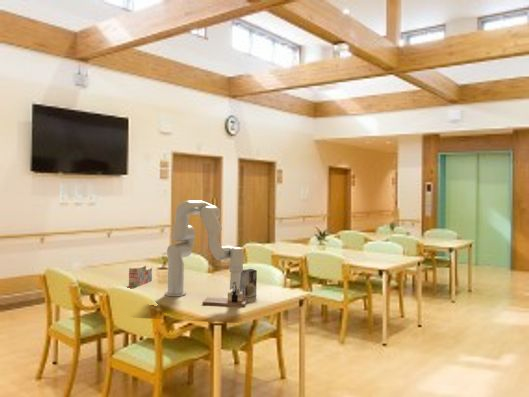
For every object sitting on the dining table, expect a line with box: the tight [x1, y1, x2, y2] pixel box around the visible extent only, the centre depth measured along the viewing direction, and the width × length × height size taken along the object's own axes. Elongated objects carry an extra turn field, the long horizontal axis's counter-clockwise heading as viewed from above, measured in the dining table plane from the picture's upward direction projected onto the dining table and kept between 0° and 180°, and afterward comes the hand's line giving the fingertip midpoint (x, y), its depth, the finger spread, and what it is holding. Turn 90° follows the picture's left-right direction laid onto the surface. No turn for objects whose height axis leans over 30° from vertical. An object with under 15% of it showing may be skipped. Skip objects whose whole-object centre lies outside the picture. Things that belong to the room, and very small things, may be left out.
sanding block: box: [227, 290, 244, 302], centre depth 267 cm, size 5×8×5 cm, turn 84°
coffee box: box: [239, 268, 258, 299], centre depth 288 cm, size 9×6×16 cm
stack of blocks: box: [128, 264, 153, 288], centre depth 317 cm, size 21×6×12 cm, turn 168°
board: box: [201, 296, 249, 308], centre depth 268 cm, size 12×24×2 cm, turn 84°
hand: (235, 300), depth 267 cm, fingers closed on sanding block, 5 cm apart
